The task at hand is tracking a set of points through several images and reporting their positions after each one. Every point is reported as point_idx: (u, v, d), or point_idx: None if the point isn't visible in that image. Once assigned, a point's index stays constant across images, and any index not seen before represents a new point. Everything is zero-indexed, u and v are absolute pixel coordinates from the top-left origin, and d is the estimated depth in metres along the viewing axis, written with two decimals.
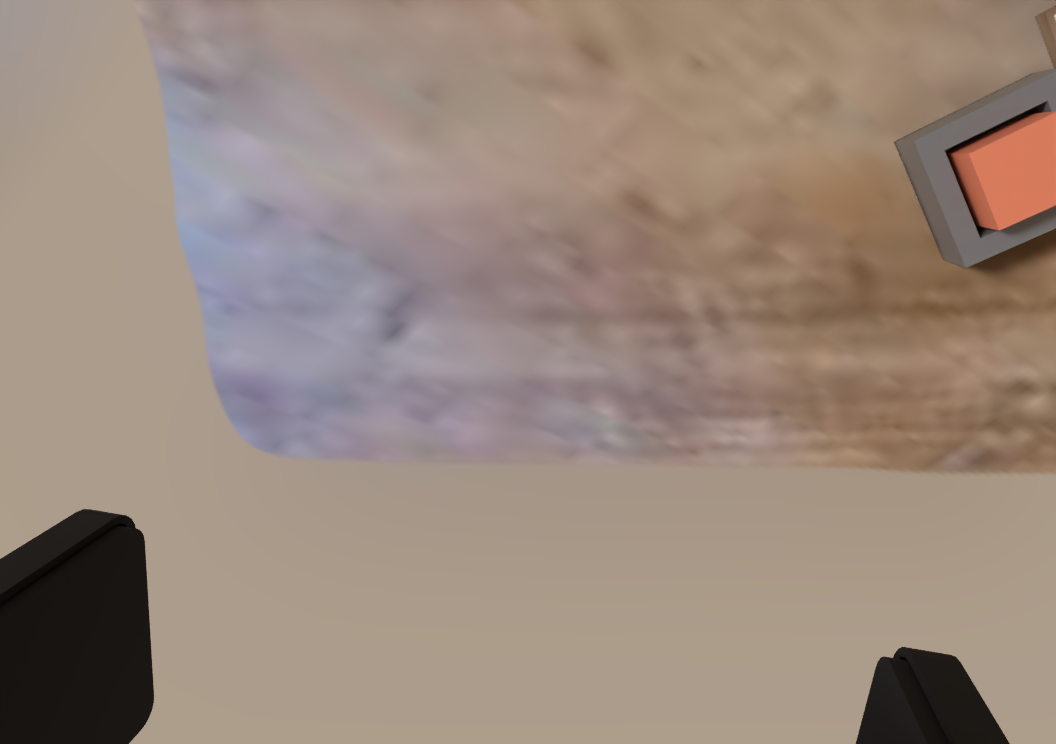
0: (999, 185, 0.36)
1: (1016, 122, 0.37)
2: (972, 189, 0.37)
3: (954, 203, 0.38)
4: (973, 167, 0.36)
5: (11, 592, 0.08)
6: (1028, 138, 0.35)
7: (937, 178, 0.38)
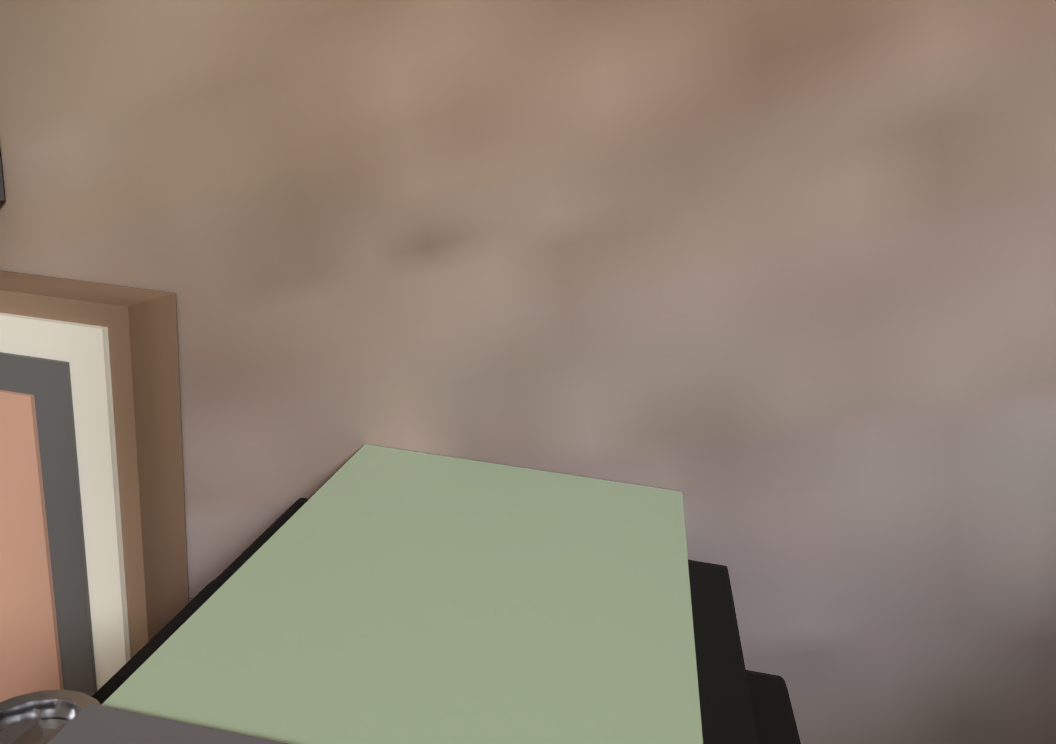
0: None
1: None
2: None
3: None
4: None
5: None
6: None
7: None
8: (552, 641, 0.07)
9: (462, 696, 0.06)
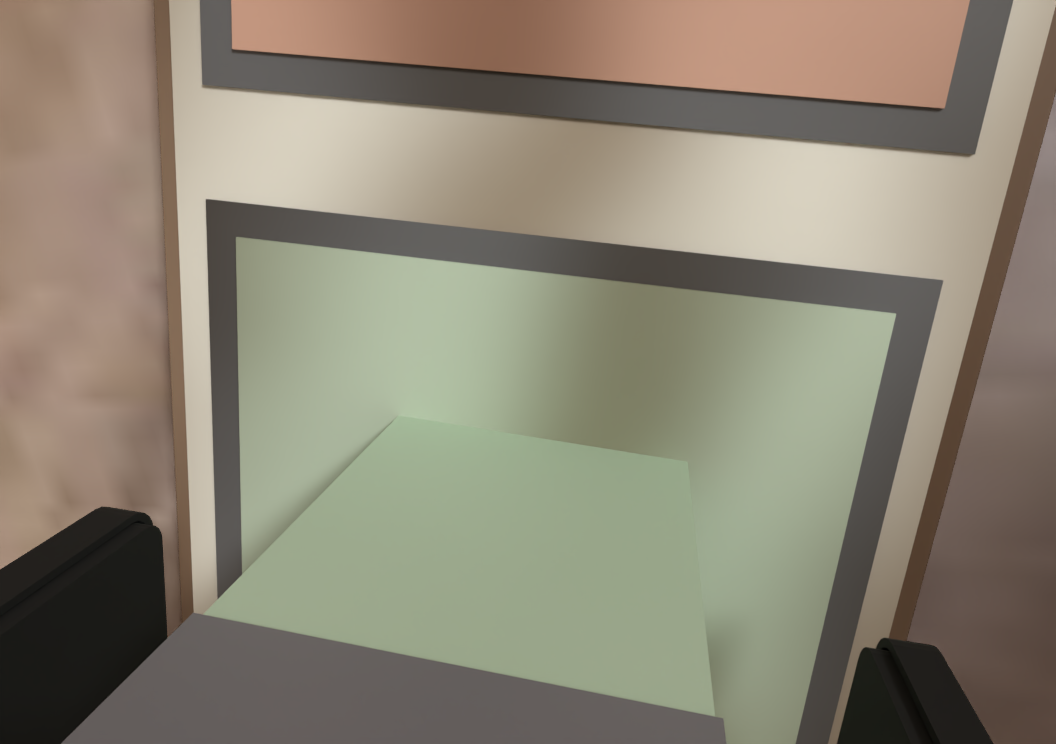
0: None
1: None
2: None
3: None
4: None
5: (35, 588, 0.08)
6: None
7: None
8: (577, 577, 0.08)
9: (504, 617, 0.07)
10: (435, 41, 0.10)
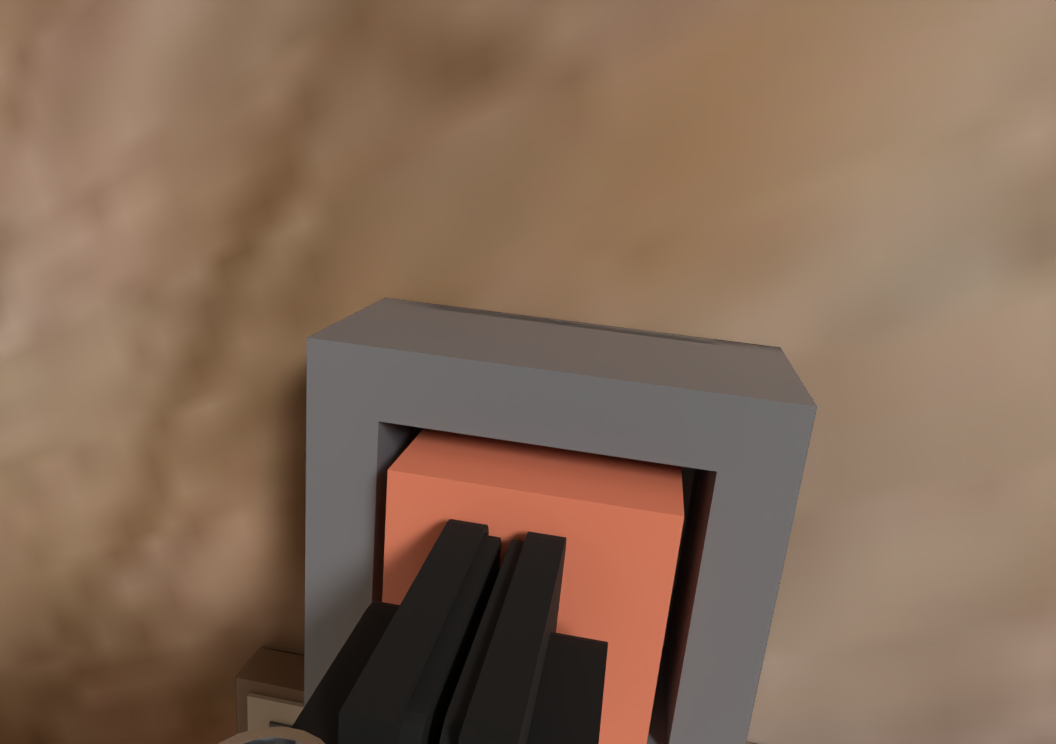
0: None
1: None
2: (552, 456, 0.11)
3: (530, 411, 0.11)
4: (631, 504, 0.10)
5: (455, 597, 0.08)
6: (617, 670, 0.11)
7: (643, 406, 0.10)
8: None
9: None
10: None
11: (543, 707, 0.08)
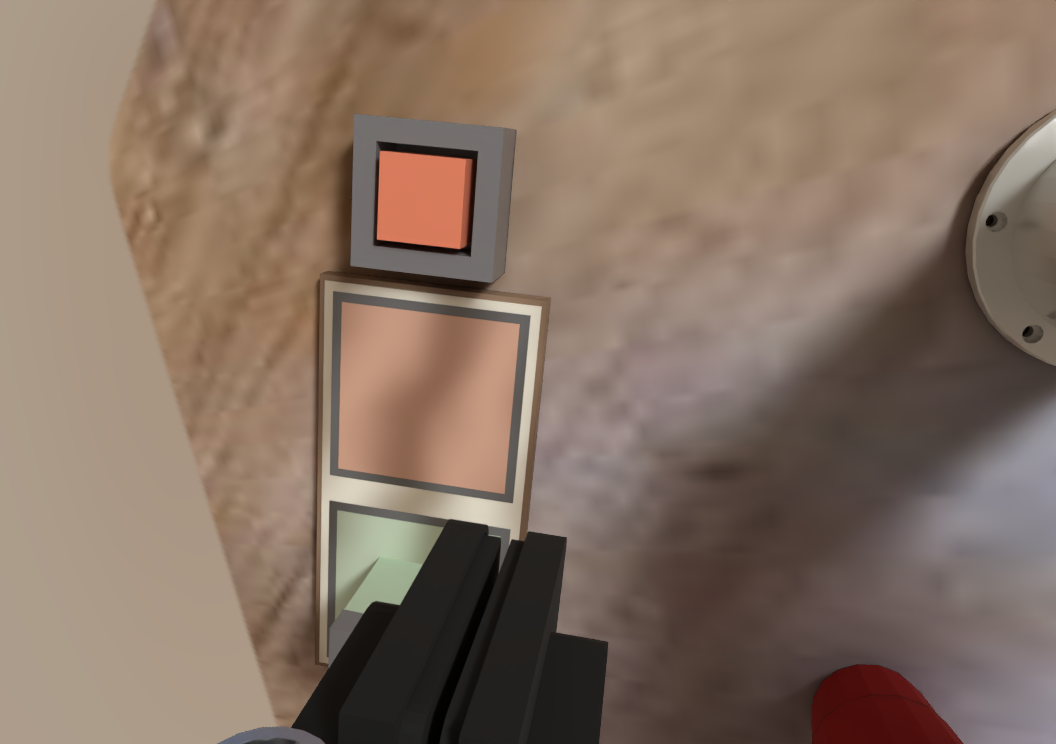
0: (422, 171, 0.34)
1: (472, 225, 0.37)
2: (432, 155, 0.36)
3: (422, 134, 0.35)
4: (451, 157, 0.34)
5: (455, 597, 0.08)
6: (450, 214, 0.35)
7: (455, 131, 0.34)
8: None
9: None
10: (388, 470, 0.42)
11: (543, 707, 0.08)
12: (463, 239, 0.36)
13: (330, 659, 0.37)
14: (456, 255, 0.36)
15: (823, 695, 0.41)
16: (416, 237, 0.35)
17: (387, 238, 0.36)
